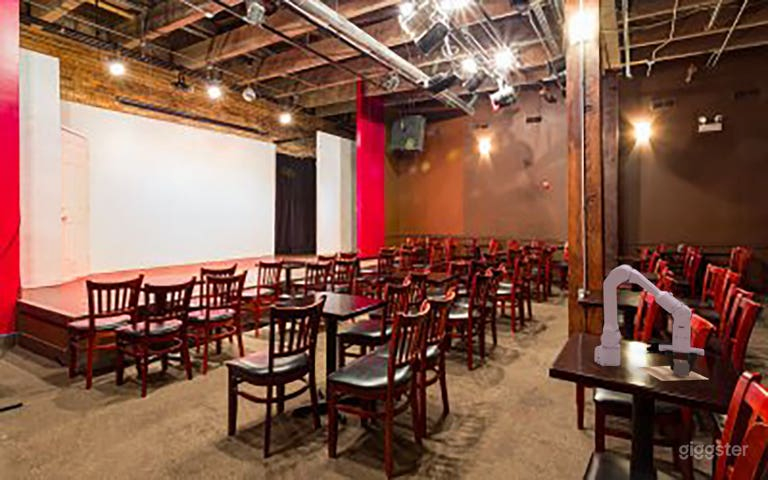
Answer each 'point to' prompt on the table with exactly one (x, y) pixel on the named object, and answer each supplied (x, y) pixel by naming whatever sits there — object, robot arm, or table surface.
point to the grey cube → (681, 367)
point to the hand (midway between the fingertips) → (680, 370)
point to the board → (669, 374)
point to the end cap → (657, 347)
